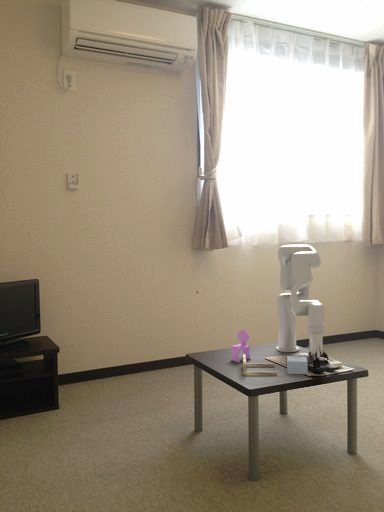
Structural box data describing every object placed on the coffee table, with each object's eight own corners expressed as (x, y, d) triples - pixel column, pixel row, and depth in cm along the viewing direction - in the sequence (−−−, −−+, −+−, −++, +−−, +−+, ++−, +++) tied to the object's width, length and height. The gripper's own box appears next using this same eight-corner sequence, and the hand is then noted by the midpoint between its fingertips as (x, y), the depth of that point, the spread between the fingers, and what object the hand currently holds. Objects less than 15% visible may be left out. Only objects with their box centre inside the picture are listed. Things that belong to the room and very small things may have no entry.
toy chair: (229, 359, 246) (228, 331, 245) (241, 356, 251) (241, 328, 250) (240, 363, 239) (239, 333, 238) (252, 360, 244) (252, 331, 244)
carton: (287, 368, 229) (287, 356, 229) (306, 369, 228) (306, 356, 227) (287, 373, 220) (287, 361, 220) (307, 374, 219) (307, 361, 218)
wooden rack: (243, 365, 234) (242, 353, 234) (274, 366, 233) (274, 353, 232) (243, 375, 218) (243, 362, 218) (277, 375, 217) (277, 363, 217)
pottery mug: (329, 366, 233) (321, 352, 232) (312, 372, 237) (304, 358, 236) (332, 354, 243) (324, 340, 243) (315, 360, 248) (307, 347, 247)
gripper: (305, 326, 230) (305, 363, 231) (310, 332, 215) (311, 372, 216) (321, 326, 229) (321, 363, 230) (327, 332, 214) (327, 372, 215)
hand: (316, 367), depth 223 cm, fingers closed
